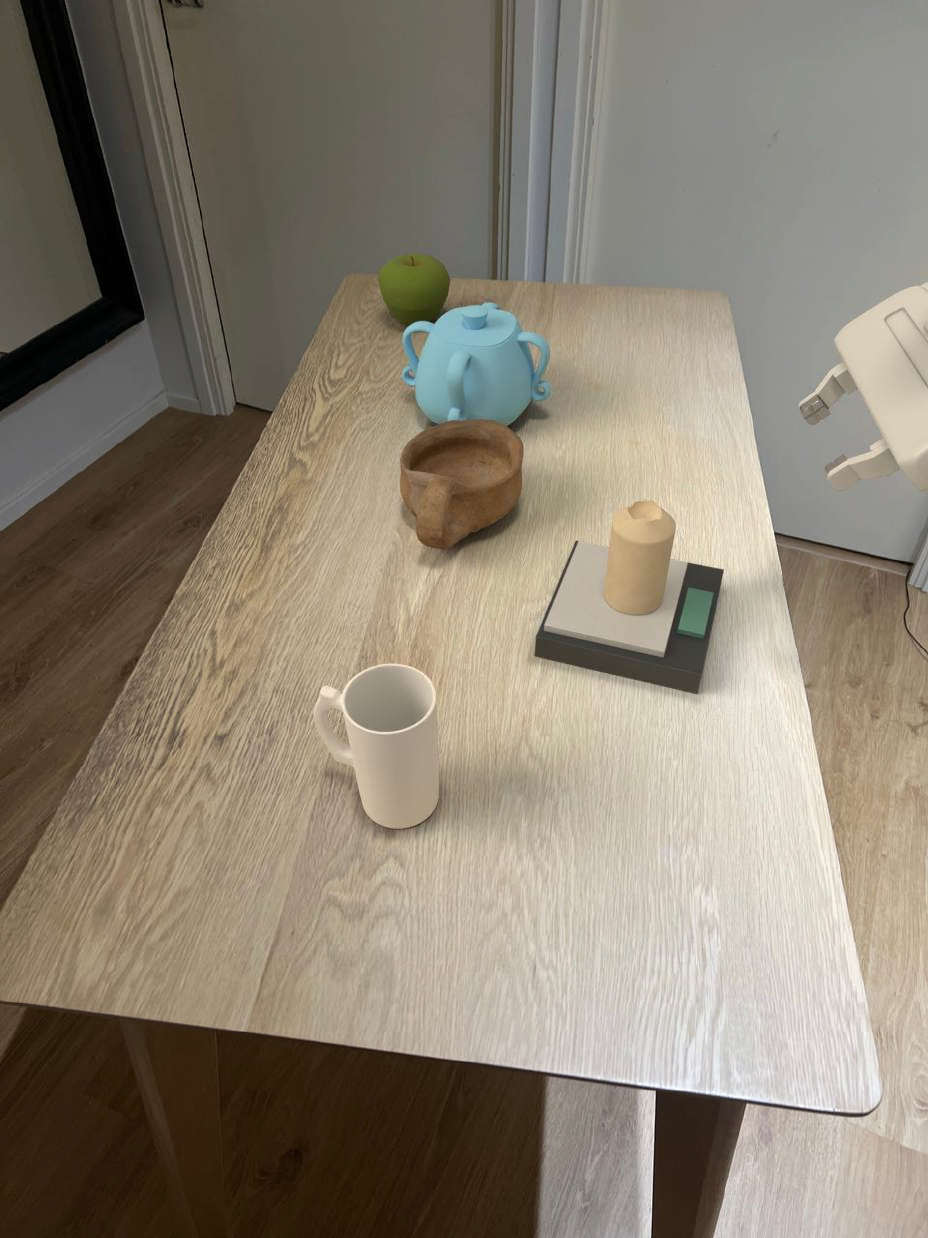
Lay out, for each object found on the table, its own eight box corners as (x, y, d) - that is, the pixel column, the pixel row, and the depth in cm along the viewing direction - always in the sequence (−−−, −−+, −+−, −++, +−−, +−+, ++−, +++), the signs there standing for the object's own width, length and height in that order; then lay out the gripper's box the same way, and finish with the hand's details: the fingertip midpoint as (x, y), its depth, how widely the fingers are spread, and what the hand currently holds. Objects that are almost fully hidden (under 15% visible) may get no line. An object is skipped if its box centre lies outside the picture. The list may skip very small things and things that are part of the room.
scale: (719, 588, 89) (725, 562, 87) (697, 694, 79) (703, 668, 76) (574, 558, 93) (576, 533, 91) (534, 656, 83) (535, 630, 80)
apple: (441, 340, 130) (438, 273, 123) (372, 334, 132) (366, 267, 125) (458, 309, 137) (457, 244, 130) (393, 303, 139) (388, 239, 132)
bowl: (537, 564, 90) (511, 485, 83) (407, 589, 93) (373, 515, 87) (537, 464, 103) (515, 389, 96) (423, 490, 106) (394, 419, 100)
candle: (663, 618, 81) (679, 531, 74) (602, 613, 82) (612, 526, 75) (662, 579, 85) (677, 493, 78) (604, 574, 86) (614, 489, 79)
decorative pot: (560, 427, 112) (567, 324, 102) (442, 456, 107) (438, 351, 98) (506, 371, 123) (508, 273, 113) (396, 394, 118) (389, 295, 109)
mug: (455, 776, 73) (450, 677, 64) (422, 843, 68) (413, 745, 60) (345, 743, 75) (328, 643, 67) (307, 805, 71) (283, 706, 63)
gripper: (926, 242, 68) (769, 358, 76) (1032, 366, 53) (824, 495, 61) (964, 299, 71) (809, 406, 78) (1075, 432, 56) (871, 549, 63)
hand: (816, 446), depth 69 cm, fingers open, 8 cm apart
